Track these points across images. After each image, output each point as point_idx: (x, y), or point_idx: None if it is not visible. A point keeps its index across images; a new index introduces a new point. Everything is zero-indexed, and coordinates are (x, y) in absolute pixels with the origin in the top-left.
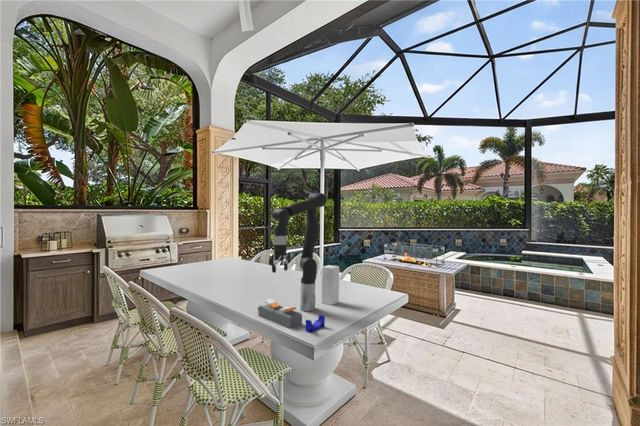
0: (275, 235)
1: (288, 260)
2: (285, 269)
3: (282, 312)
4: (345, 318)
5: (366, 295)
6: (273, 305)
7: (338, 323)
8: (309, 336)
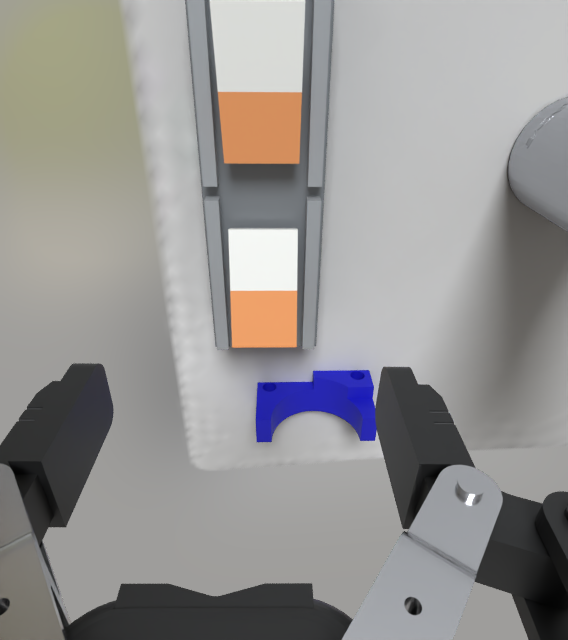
0: None
1: (561, 590)
2: (381, 412)
3: (259, 227)
4: (522, 405)
5: None
6: (240, 136)
7: None
8: (231, 423)
